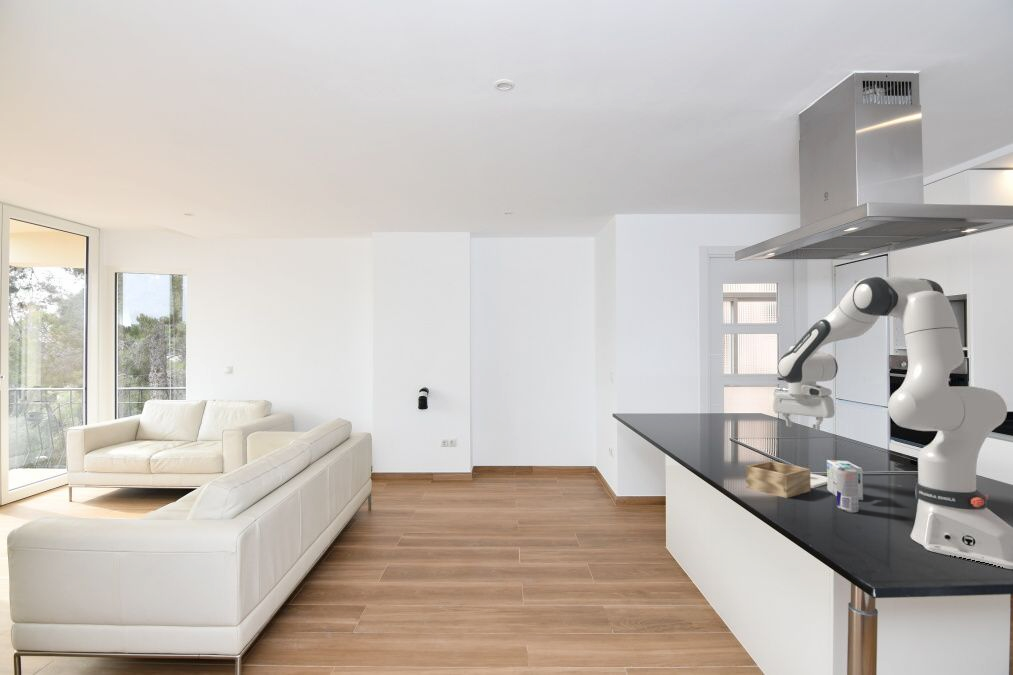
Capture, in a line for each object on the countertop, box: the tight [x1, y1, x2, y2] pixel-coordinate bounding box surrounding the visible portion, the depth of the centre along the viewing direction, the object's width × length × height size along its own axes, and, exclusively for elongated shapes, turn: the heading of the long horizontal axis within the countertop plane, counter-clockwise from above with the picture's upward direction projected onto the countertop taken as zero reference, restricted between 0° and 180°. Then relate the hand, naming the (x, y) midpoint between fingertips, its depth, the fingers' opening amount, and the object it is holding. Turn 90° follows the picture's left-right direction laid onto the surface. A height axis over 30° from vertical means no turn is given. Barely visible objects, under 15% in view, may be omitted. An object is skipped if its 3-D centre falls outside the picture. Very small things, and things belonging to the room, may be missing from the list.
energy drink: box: [836, 468, 859, 514], centre depth 156 cm, size 5×5×12 cm
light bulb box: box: [826, 459, 864, 501], centre depth 169 cm, size 11×7×11 cm, turn 168°
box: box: [745, 460, 811, 499], centre depth 175 cm, size 14×14×8 cm
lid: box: [810, 472, 827, 489], centre depth 187 cm, size 15×15×5 cm
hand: (802, 428), depth 187 cm, fingers open, 8 cm apart
